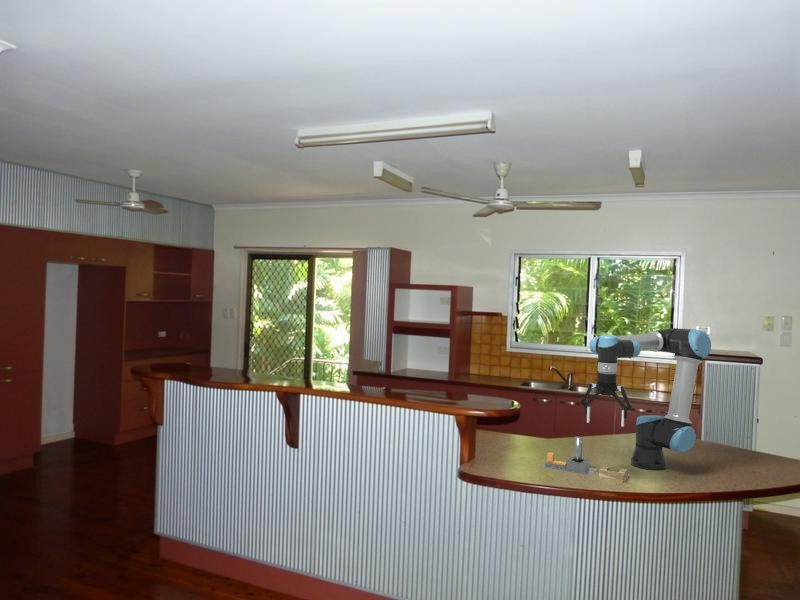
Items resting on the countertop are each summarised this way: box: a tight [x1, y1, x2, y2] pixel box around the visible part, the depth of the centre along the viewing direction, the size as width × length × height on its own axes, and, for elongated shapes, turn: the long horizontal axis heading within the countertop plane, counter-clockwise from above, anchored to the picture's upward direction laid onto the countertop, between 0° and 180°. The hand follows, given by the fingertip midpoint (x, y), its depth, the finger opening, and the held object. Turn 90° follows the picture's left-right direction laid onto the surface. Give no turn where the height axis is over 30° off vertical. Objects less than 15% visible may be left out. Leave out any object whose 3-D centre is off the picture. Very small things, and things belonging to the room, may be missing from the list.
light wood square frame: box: [598, 465, 629, 484], centre depth 262 cm, size 10×10×4 cm
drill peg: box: [573, 436, 583, 462], centre depth 269 cm, size 3×3×14 cm
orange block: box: [546, 451, 566, 466], centre depth 274 cm, size 3×8×5 cm, turn 61°
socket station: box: [539, 456, 597, 476], centre depth 271 cm, size 12×22×5 cm, turn 61°
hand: (605, 424), depth 254 cm, fingers open, 13 cm apart
